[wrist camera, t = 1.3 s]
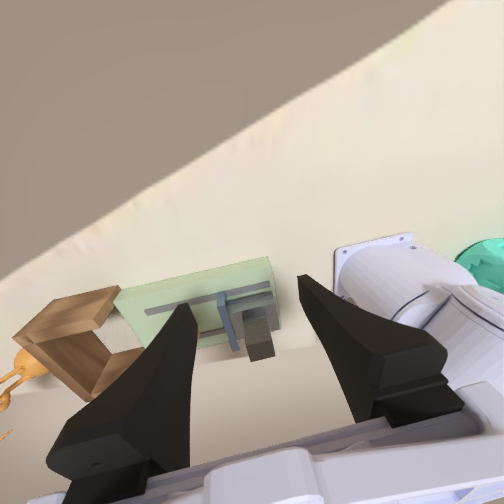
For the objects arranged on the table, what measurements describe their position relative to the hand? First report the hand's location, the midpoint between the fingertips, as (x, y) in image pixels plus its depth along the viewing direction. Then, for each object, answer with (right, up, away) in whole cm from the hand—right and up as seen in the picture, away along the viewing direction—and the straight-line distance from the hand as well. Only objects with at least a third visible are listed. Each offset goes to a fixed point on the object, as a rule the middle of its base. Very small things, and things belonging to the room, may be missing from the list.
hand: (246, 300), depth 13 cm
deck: (-5, -4, +12) cm, 14 cm away
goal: (-17, -6, +12) cm, 22 cm away
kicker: (0, -3, +11) cm, 11 cm away
